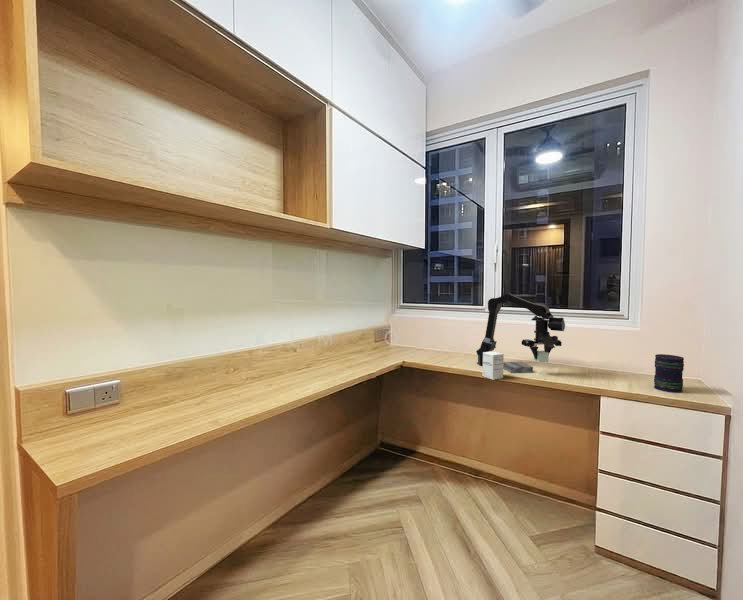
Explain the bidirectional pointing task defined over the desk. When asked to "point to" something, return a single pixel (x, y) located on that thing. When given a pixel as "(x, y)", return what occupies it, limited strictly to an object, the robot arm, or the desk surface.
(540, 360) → the sage cube
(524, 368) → the charcoal base
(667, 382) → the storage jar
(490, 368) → the supplement box
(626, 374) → the desk surface
